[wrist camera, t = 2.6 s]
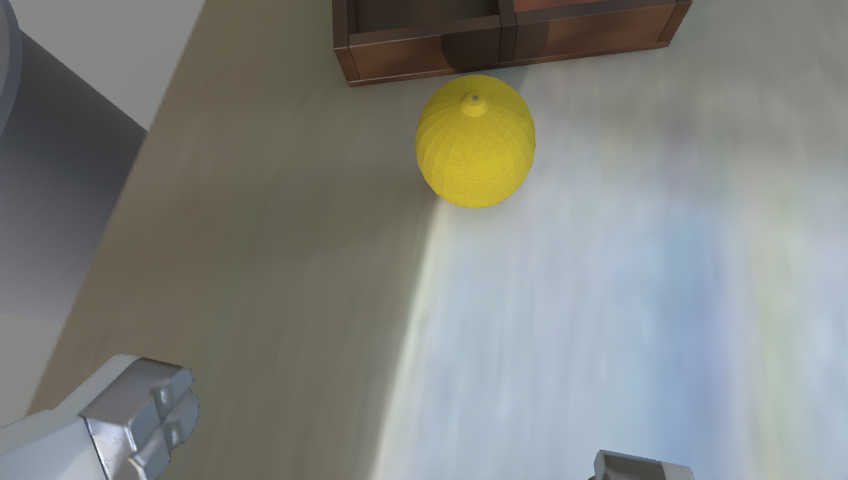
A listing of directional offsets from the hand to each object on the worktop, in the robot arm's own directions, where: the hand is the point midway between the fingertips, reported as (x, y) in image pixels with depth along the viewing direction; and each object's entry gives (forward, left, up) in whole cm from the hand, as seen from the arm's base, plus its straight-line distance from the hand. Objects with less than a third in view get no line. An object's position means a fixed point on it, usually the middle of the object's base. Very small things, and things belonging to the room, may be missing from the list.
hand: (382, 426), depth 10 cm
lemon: (+3, +11, -15) cm, 19 cm away
